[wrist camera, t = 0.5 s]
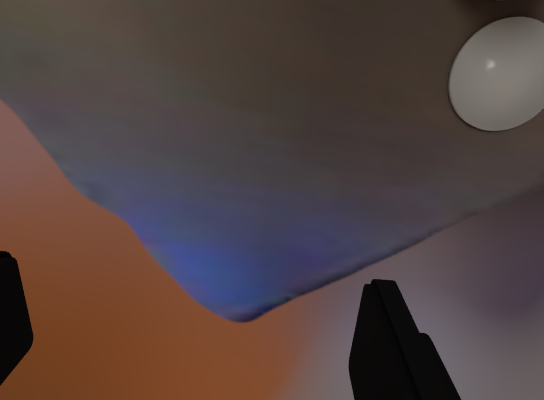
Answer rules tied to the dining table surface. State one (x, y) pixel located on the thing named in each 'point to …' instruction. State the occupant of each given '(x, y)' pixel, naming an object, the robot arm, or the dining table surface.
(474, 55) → the coaster
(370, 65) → the dining table surface
